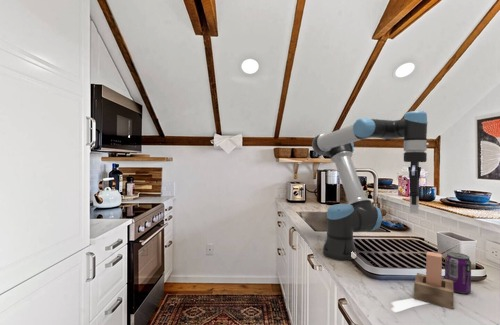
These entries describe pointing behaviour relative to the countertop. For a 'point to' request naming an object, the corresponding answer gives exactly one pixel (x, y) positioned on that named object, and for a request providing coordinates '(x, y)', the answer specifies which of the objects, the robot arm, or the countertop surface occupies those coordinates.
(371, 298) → the countertop surface
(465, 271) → the beverage can
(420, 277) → the socket block
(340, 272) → the countertop surface
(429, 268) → the peg
